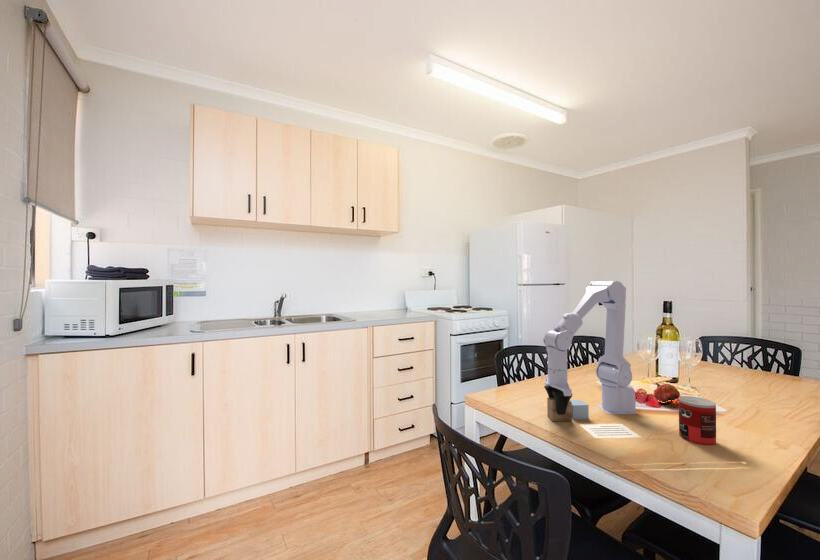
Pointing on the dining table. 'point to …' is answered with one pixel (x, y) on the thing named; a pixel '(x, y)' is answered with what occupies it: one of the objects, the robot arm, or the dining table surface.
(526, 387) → the dining table surface
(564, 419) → the walnut block
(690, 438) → the canned food
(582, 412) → the cube
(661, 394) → the pomegranate
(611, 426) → the letter
